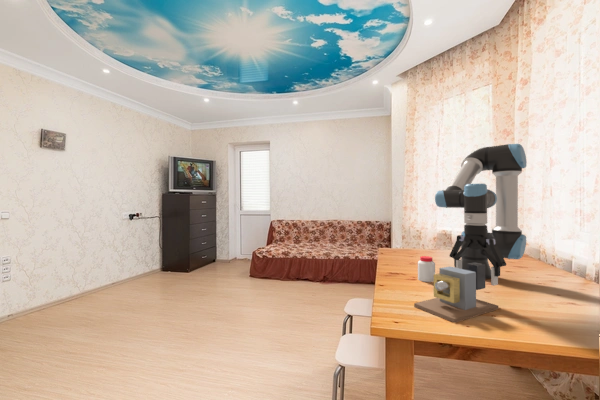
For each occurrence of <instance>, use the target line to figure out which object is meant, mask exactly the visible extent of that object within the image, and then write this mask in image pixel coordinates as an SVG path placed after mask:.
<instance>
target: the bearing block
mask: <svg viewBox="0 0 600 400" xmlns="http://www.w3.org/2000/svg"><path fill="white" fill-rule="evenodd" d="M439 273H440V274H443V275H447V276H451V277H455V278H459V279H460V302H457V303H452V302H449V301H446V300H443V299H440V298H437V297H434V298H431V299H425V300H422V301H419V302H414V303H413V306H414V308H416V309H419V310H422V311H425V312H426V313H430V314H432V315H434V316H437V317H439V318H442V319H444V320H447V321H449V322H452V323H455V324H456V323H458V322H462V321H464V320H468V319H471V318H474V317H478V316H481V315H484V314H486V313H490V312H494V311H496V310H499V305H498V304H495V303H491V302H488V301H484V300H481V299H477V290H476V272H473V271H469V270H464V269H459V268H456V267H455V266H446V267H445V266H444V267H440V268H439ZM443 292H444V293H447V294H450V289H447V290H443Z"/></svg>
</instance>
